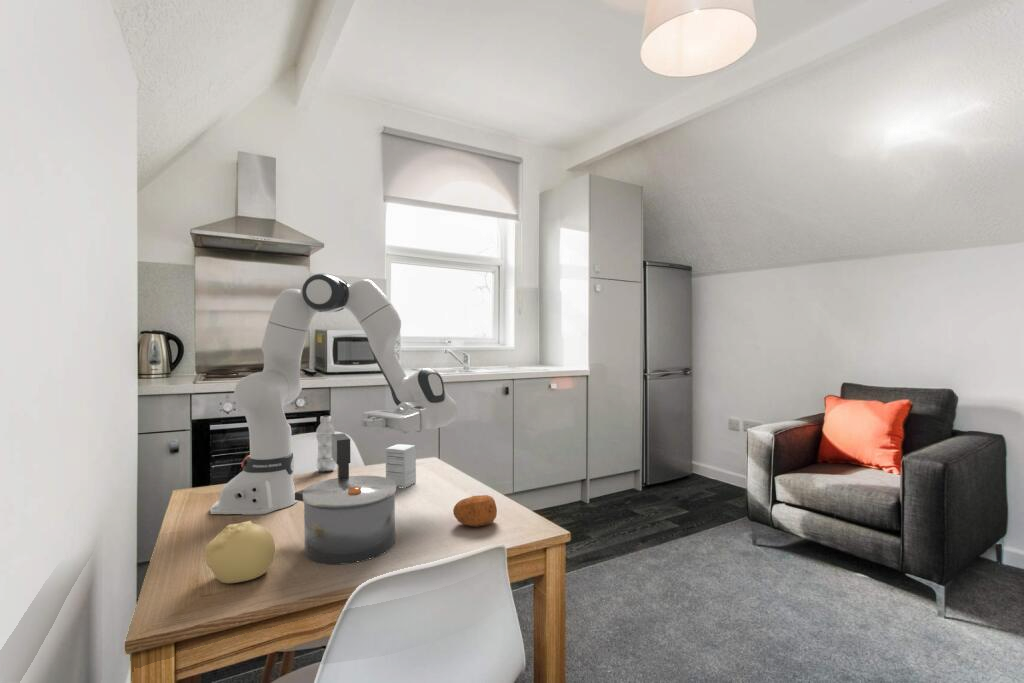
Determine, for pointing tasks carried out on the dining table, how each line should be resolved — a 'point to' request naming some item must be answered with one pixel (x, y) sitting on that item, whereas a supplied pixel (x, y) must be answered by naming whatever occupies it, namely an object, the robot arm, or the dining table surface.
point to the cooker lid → (347, 483)
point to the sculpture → (240, 552)
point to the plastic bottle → (325, 444)
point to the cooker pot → (348, 531)
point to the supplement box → (401, 464)
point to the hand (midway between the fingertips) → (365, 423)
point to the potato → (476, 510)
